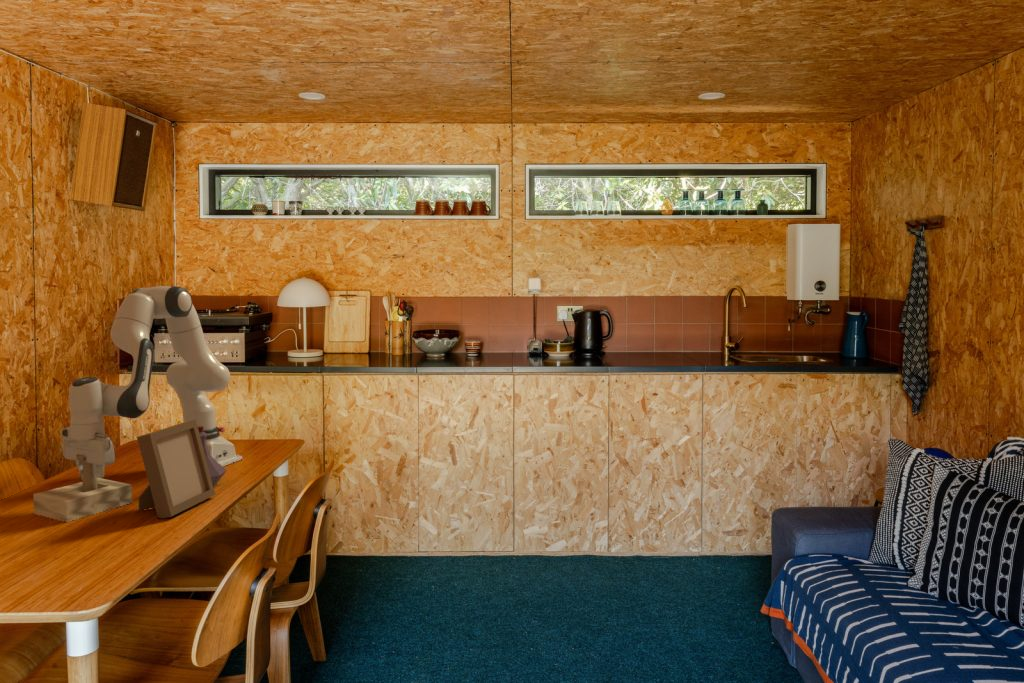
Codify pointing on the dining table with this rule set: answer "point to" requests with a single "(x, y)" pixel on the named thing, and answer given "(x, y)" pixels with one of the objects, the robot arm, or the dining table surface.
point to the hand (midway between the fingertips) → (89, 476)
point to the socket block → (81, 500)
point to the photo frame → (174, 469)
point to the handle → (87, 475)
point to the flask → (211, 460)
